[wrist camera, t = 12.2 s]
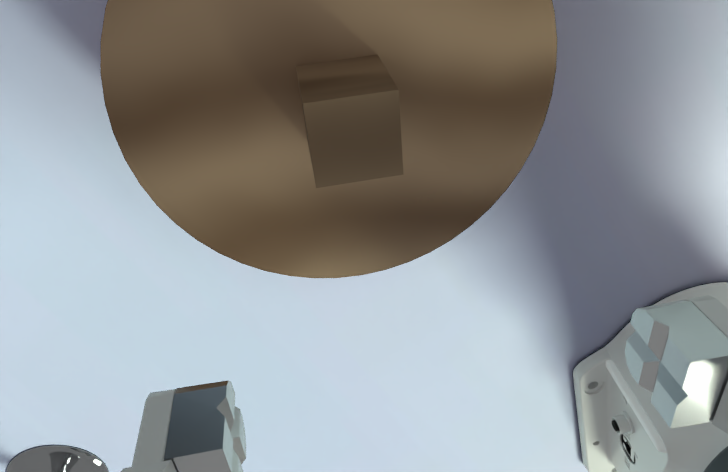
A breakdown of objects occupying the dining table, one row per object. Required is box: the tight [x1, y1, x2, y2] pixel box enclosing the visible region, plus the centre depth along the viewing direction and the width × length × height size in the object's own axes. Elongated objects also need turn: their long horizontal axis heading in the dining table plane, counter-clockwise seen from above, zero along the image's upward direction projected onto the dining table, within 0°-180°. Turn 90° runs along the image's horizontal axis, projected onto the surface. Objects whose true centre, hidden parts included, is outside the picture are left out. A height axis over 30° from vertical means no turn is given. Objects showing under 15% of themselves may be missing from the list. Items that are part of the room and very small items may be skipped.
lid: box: [101, 0, 557, 278], centre depth 22 cm, size 18×18×5 cm
